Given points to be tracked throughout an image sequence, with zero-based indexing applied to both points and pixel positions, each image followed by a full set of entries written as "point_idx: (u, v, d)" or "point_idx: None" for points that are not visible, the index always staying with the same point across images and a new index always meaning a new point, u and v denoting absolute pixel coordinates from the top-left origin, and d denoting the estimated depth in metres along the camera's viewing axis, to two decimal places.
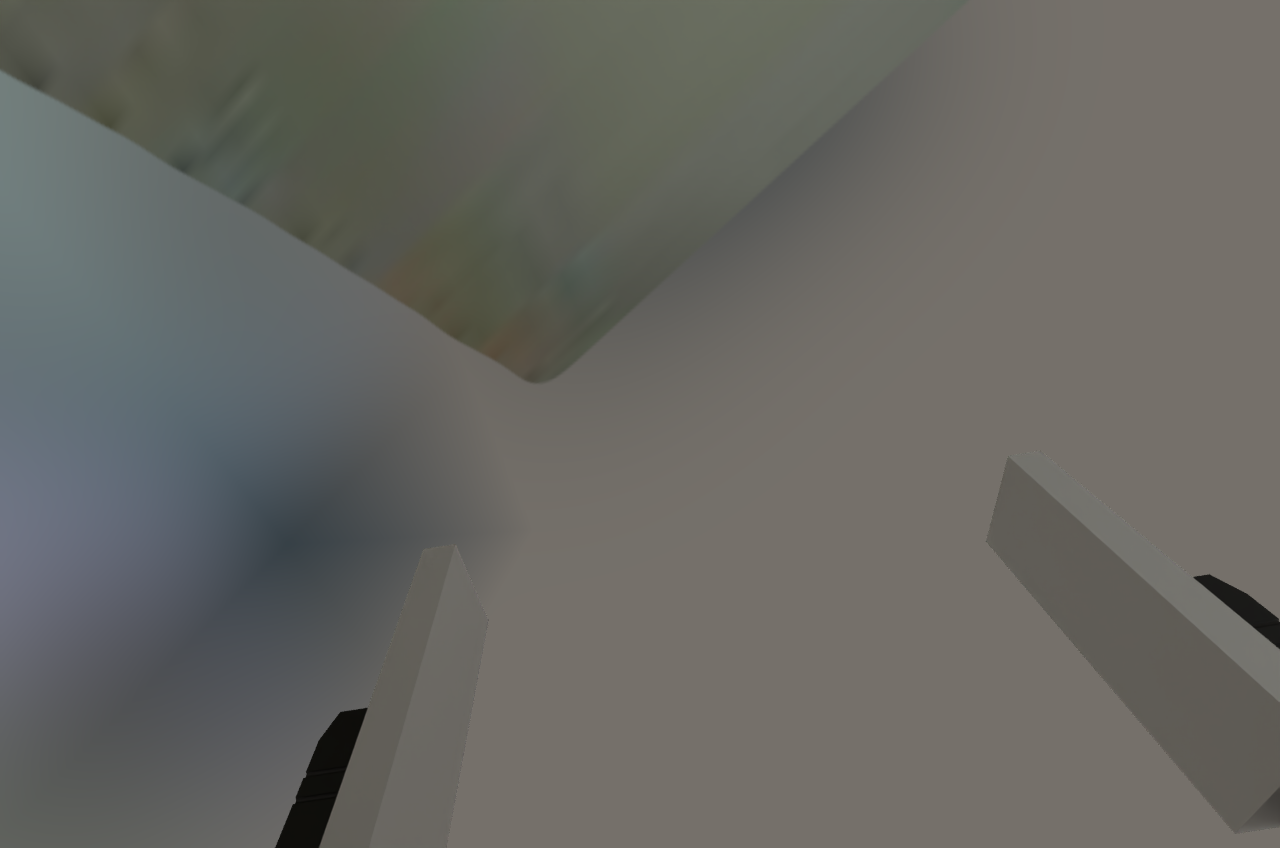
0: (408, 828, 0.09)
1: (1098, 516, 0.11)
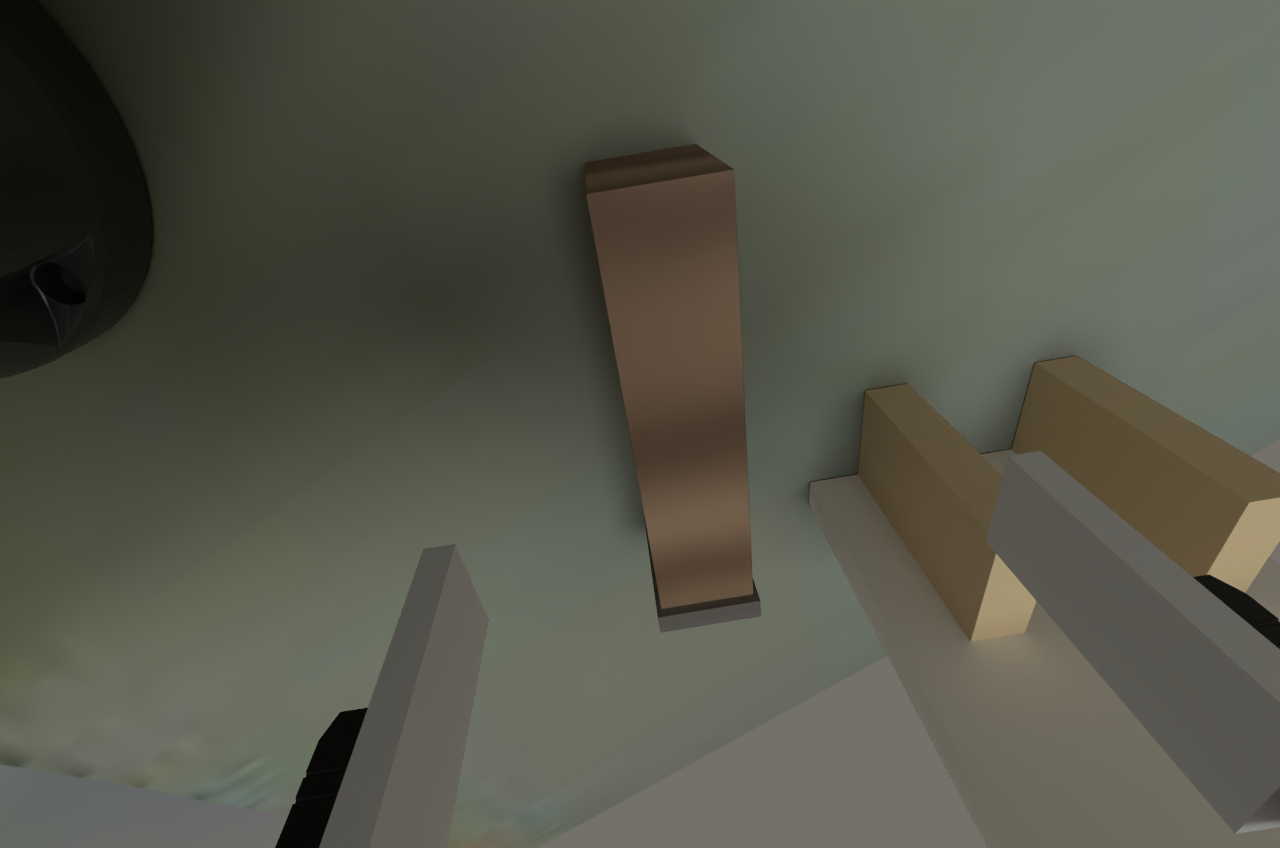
0: (408, 828, 0.09)
1: (1098, 516, 0.11)
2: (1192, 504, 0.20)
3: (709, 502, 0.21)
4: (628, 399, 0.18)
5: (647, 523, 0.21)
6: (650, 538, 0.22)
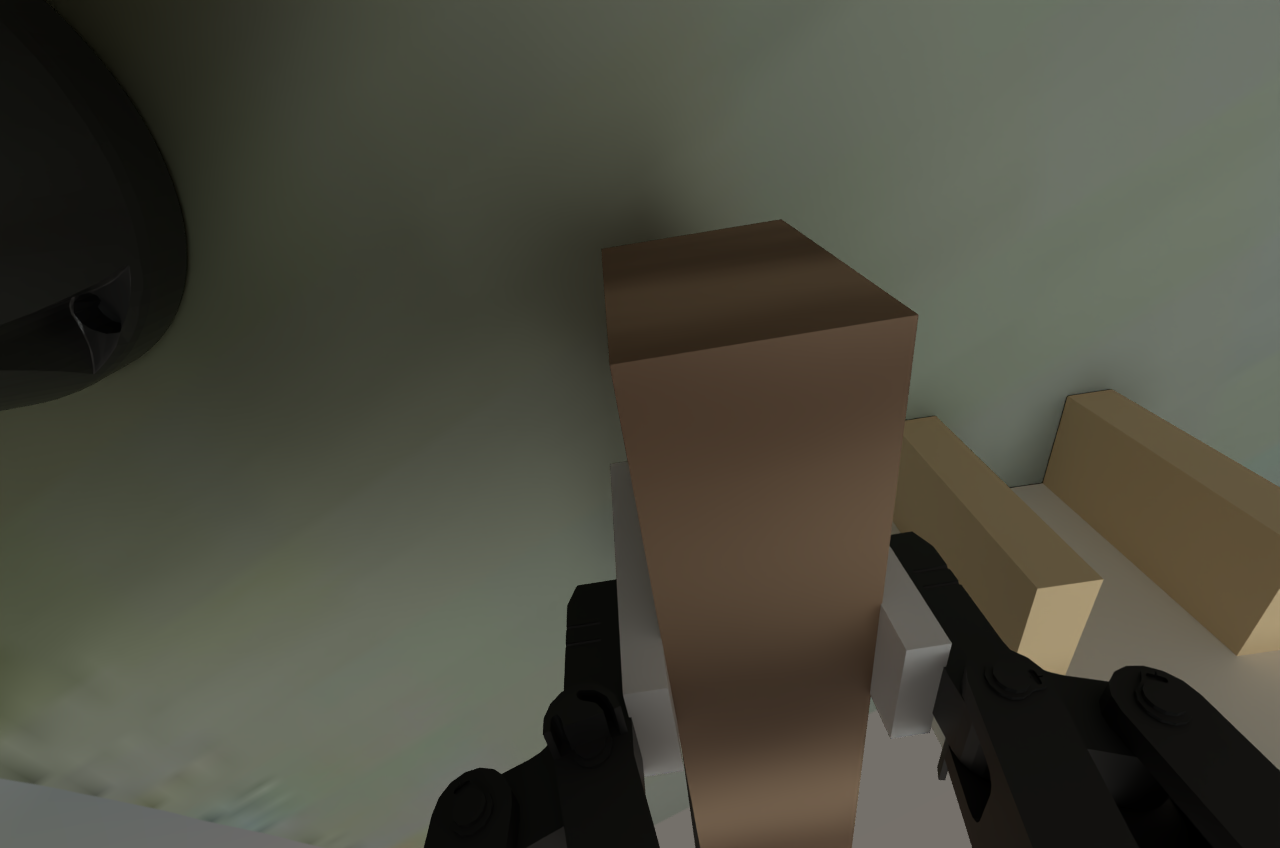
0: None
1: None
2: (1240, 549, 0.19)
3: (798, 785, 0.13)
4: (676, 670, 0.11)
5: (696, 813, 0.13)
6: (699, 828, 0.14)
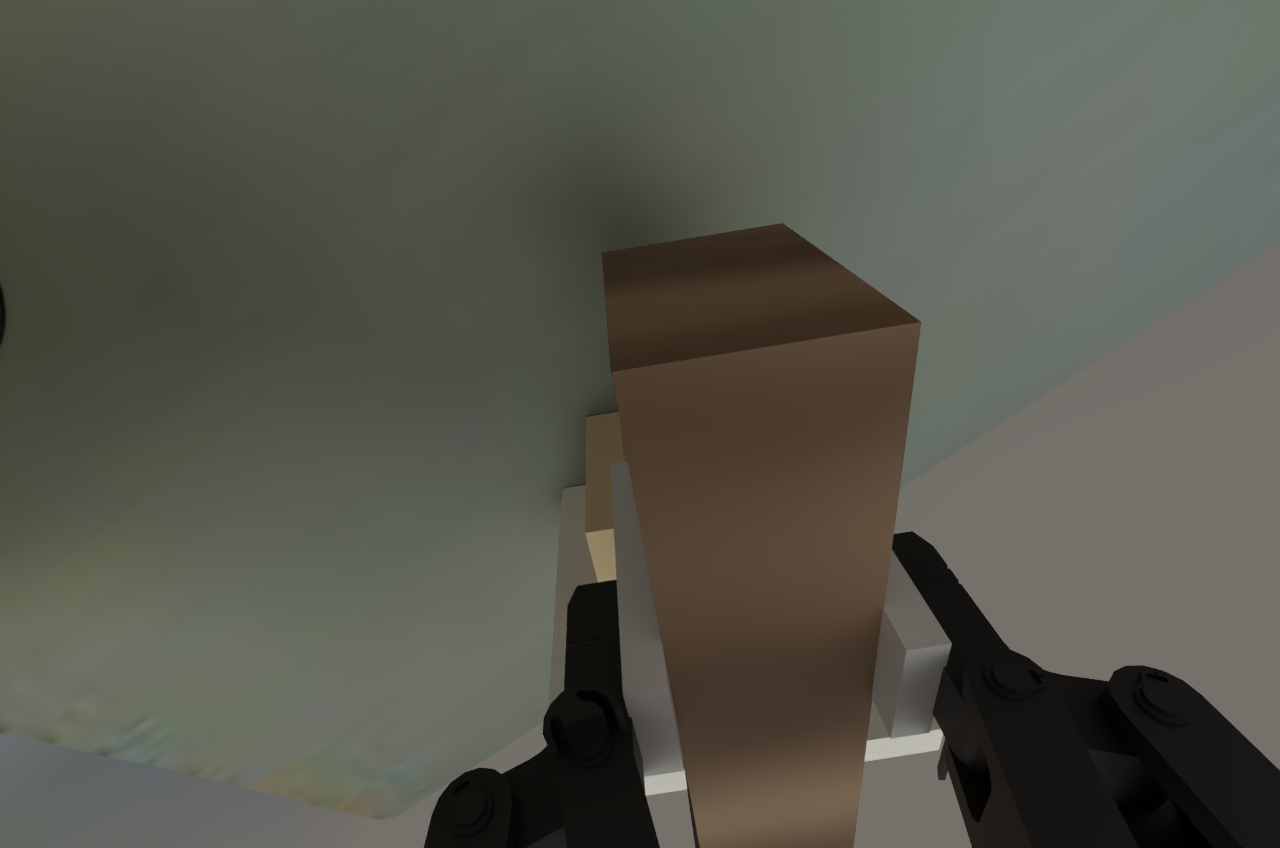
0: None
1: None
2: None
3: (798, 790, 0.13)
4: (677, 676, 0.11)
5: (696, 818, 0.13)
6: (700, 833, 0.14)
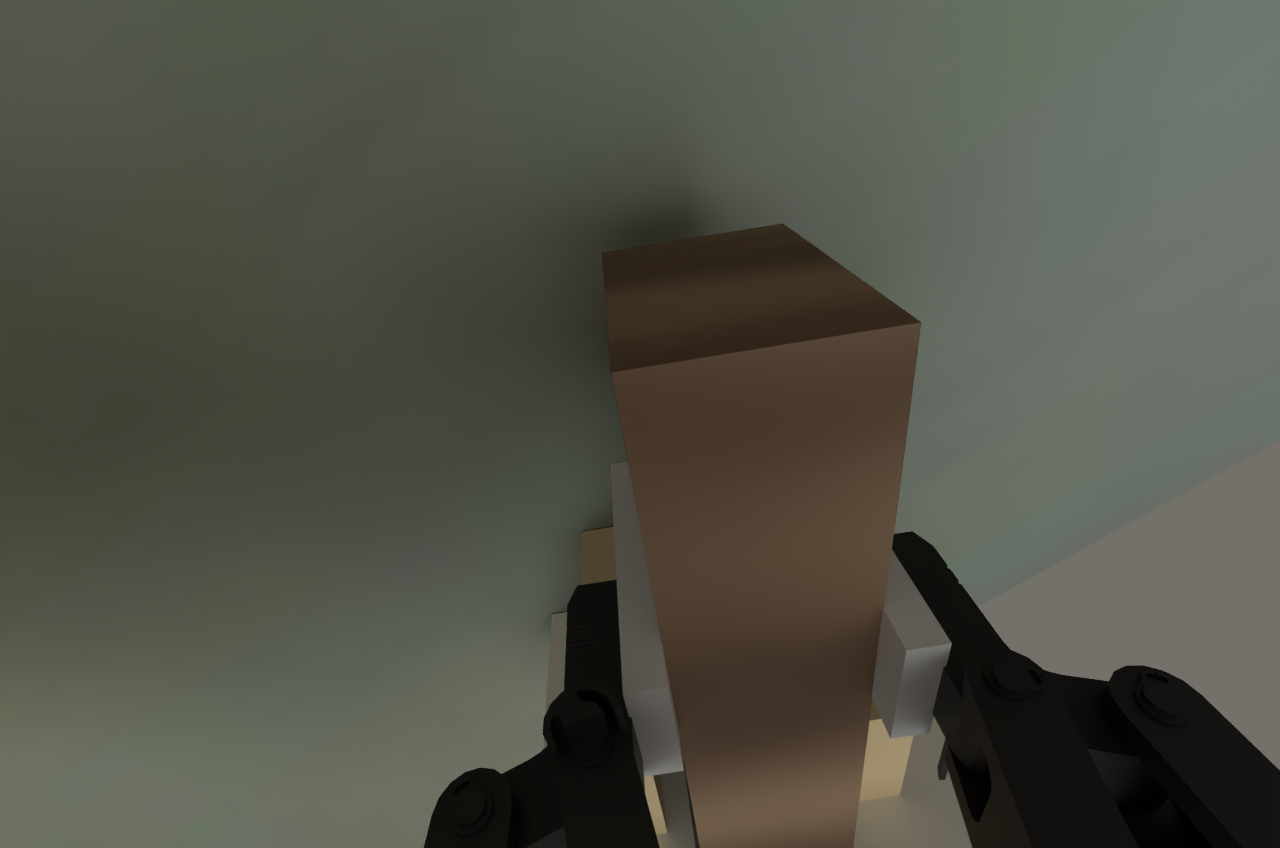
0: None
1: None
2: None
3: (798, 790, 0.13)
4: (677, 676, 0.11)
5: (697, 818, 0.13)
6: (700, 833, 0.14)
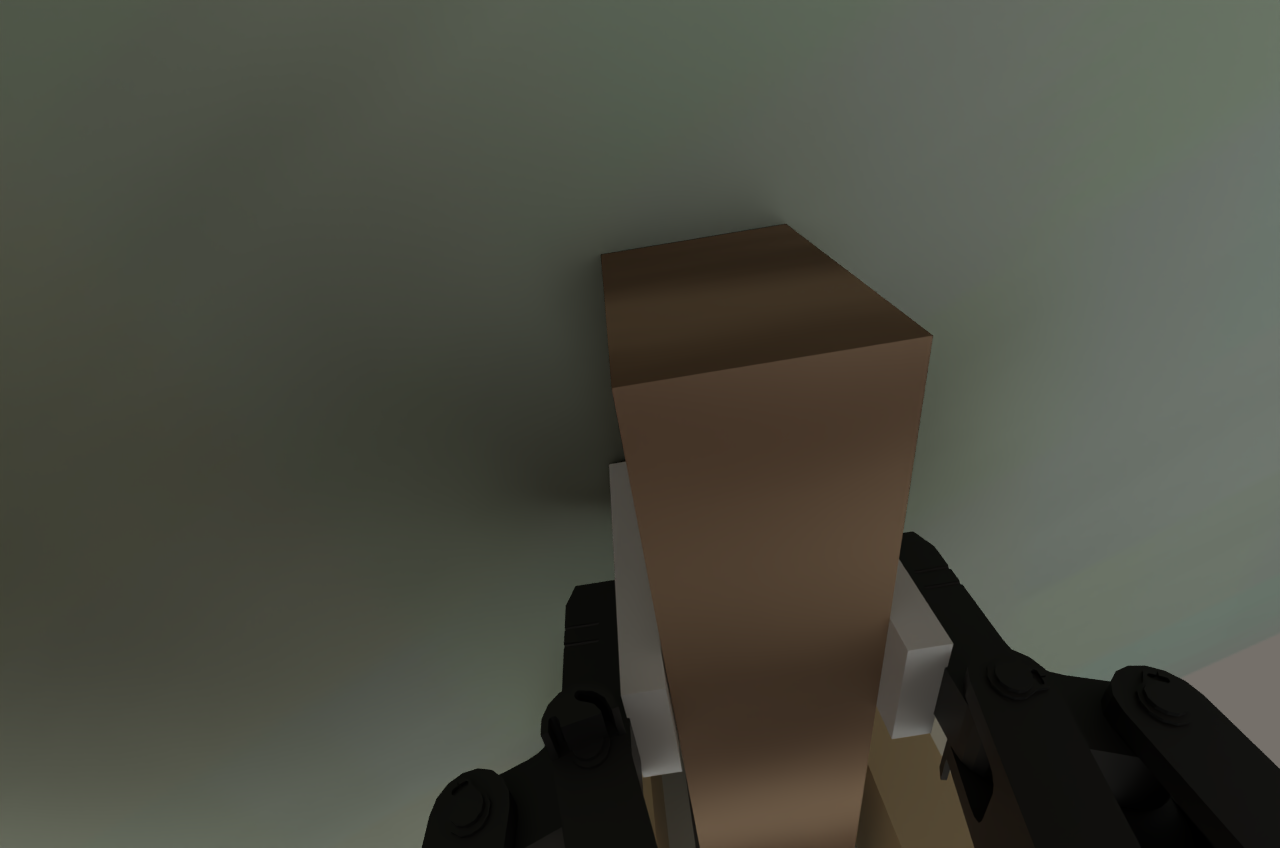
0: None
1: None
2: None
3: (800, 797, 0.13)
4: (678, 688, 0.10)
5: (697, 825, 0.13)
6: (701, 839, 0.14)
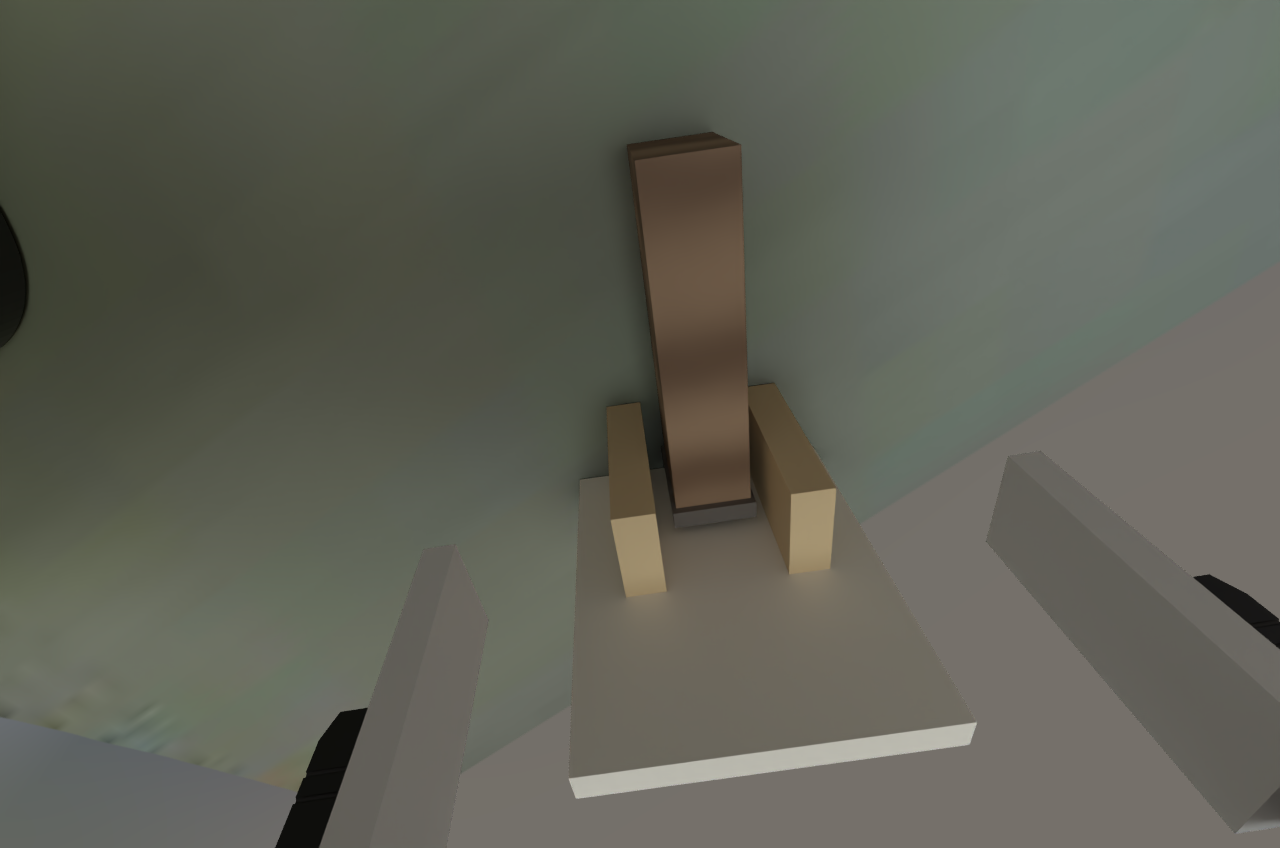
0: (408, 828, 0.09)
1: (1098, 516, 0.11)
2: (781, 497, 0.26)
3: (717, 412, 0.27)
4: (657, 322, 0.24)
5: (667, 429, 0.27)
6: (669, 443, 0.28)
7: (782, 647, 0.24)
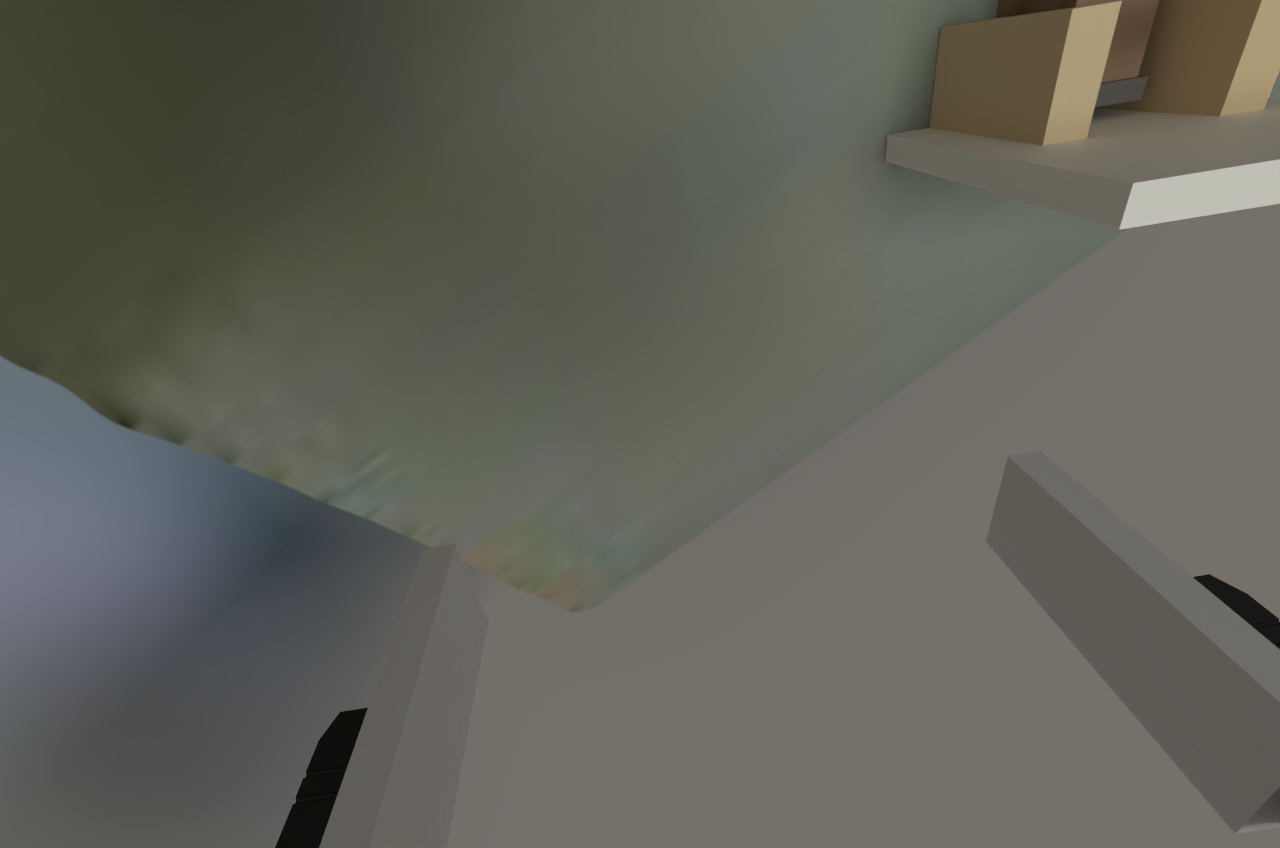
0: (408, 828, 0.09)
1: (1098, 516, 0.11)
2: (1223, 19, 0.24)
3: None
4: None
5: None
6: None
7: (1277, 128, 0.22)
